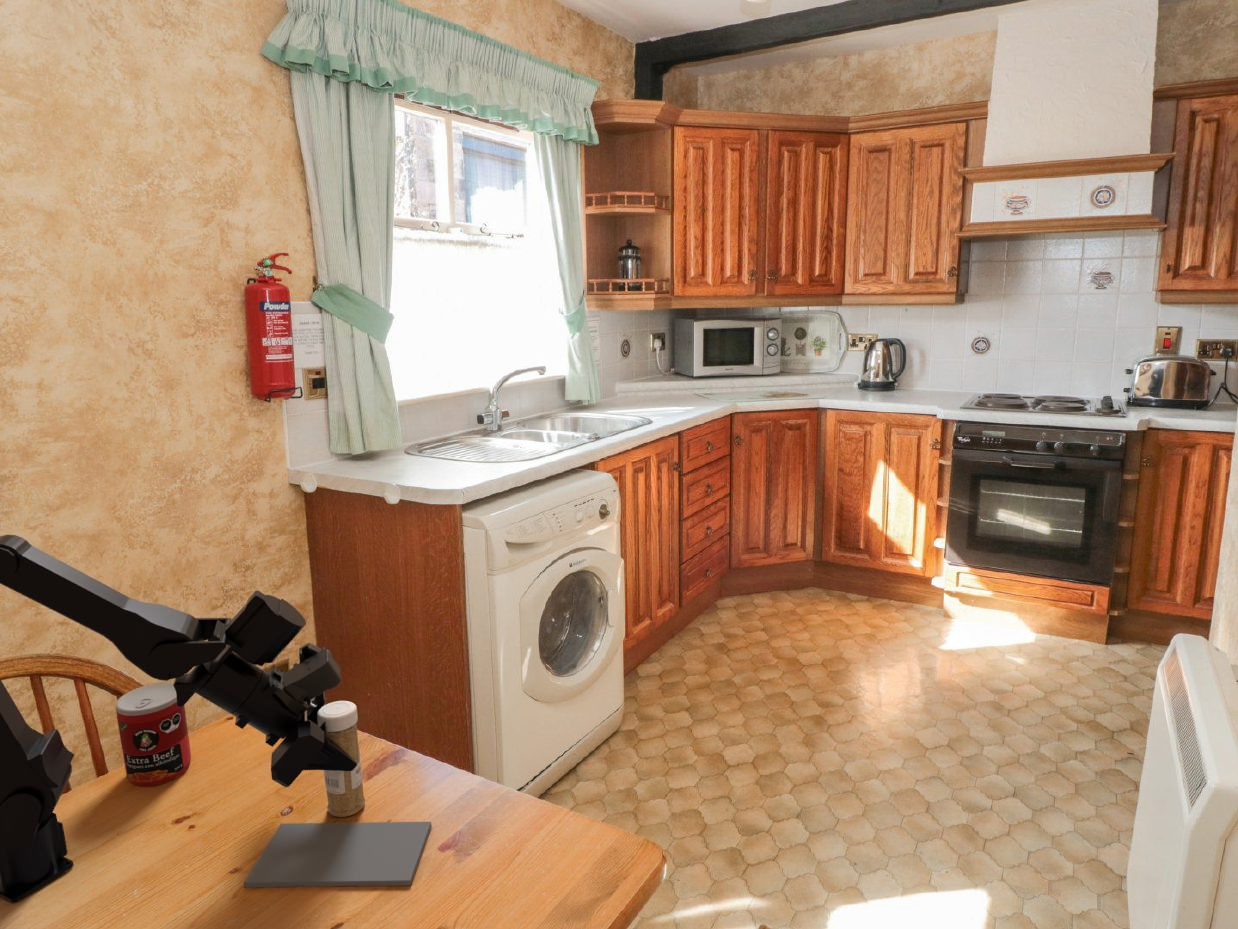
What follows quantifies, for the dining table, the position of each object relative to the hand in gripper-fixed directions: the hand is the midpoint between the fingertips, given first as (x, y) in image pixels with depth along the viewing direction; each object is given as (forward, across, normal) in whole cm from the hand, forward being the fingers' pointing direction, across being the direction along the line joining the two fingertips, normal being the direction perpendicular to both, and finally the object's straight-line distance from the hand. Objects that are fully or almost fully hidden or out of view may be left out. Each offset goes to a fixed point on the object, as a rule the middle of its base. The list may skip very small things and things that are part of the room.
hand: (353, 757), depth 102 cm
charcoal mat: (+3, -9, +6) cm, 11 cm away
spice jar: (+4, 0, +6) cm, 7 cm away
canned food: (-12, +18, +22) cm, 31 cm away
